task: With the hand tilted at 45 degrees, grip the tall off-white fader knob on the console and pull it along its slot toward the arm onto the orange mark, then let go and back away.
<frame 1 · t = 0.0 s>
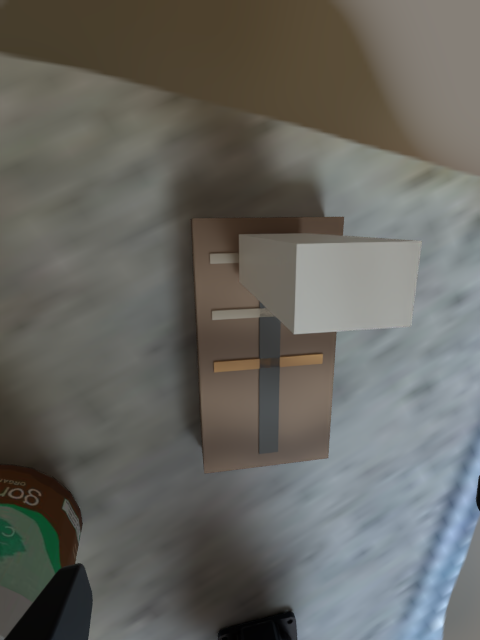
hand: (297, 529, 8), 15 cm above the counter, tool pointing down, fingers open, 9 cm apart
fader: (301, 268, 14), point 7 cm above the counter, slide at 0.0 cm
food container: (4, 487, 22), on the counter
console: (259, 340, 22), on the counter
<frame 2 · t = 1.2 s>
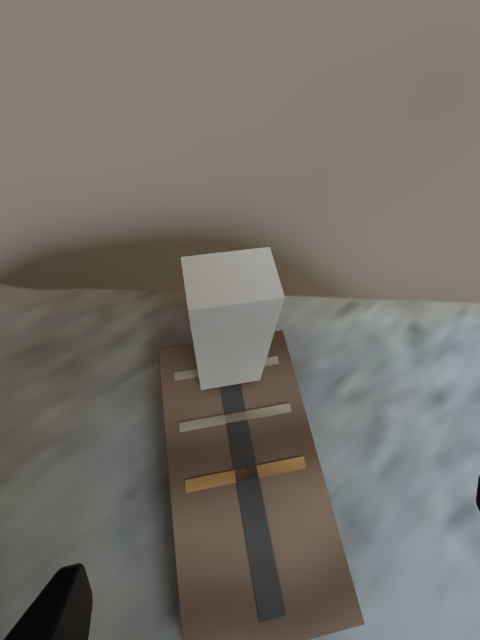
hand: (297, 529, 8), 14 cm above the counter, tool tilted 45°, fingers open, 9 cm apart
fader: (228, 331, 17), point 7 cm above the counter, slide at 0.0 cm
console: (242, 469, 21), on the counter
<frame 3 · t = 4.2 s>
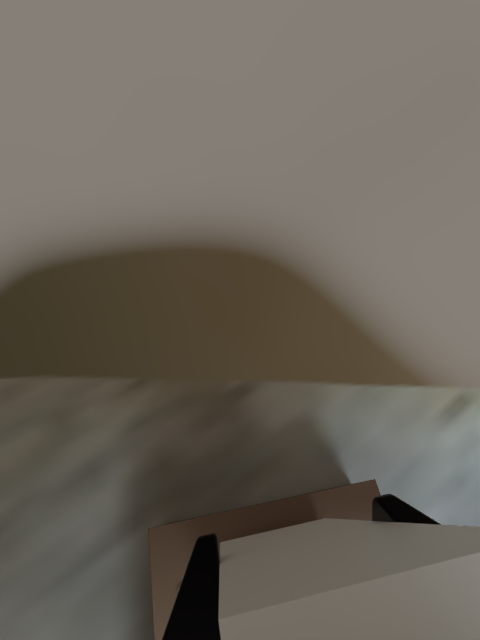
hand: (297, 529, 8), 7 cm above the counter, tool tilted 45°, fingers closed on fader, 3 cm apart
fader: (319, 612, 7), point 7 cm above the counter, slide at 0.0 cm, touching gripper
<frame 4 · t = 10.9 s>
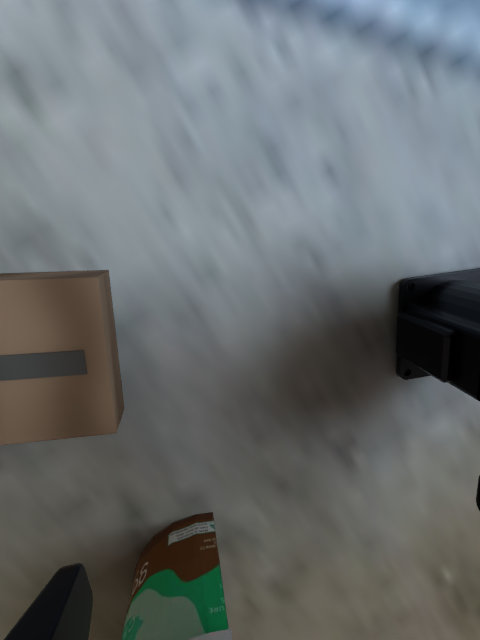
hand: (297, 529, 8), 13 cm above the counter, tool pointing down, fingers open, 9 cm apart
food container: (164, 568, 24), on the counter
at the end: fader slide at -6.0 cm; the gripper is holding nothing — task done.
